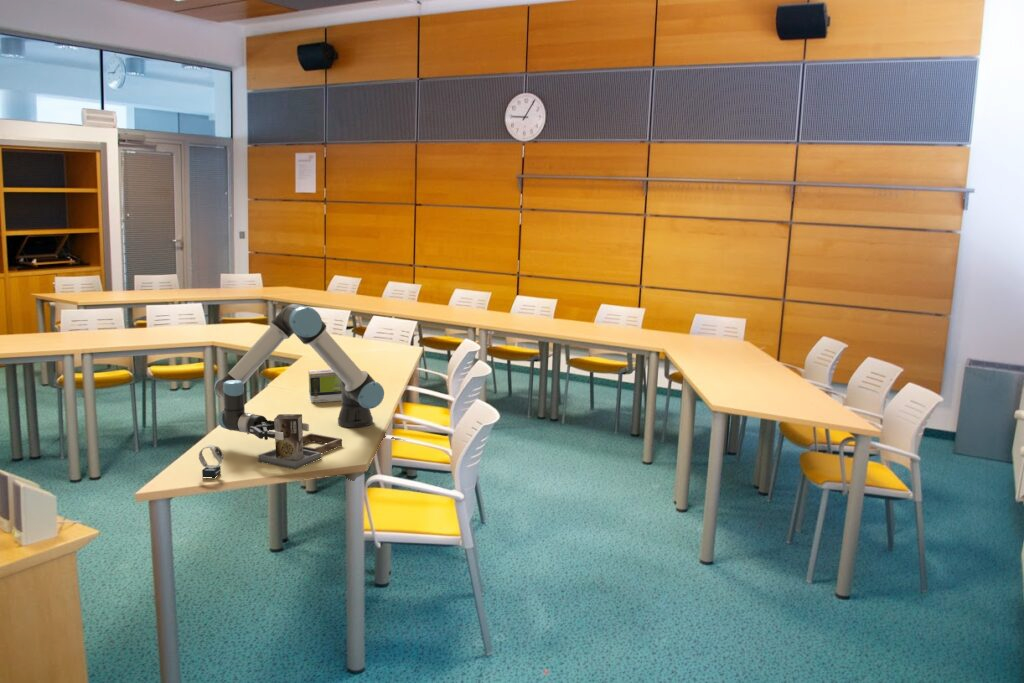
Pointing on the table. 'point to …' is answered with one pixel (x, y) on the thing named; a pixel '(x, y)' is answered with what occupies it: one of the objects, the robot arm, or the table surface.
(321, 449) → the collar
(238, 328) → the table surface
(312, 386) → the tea box
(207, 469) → the watch
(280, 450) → the coffee box
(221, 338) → the table surface
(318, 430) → the table surface
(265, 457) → the tray
